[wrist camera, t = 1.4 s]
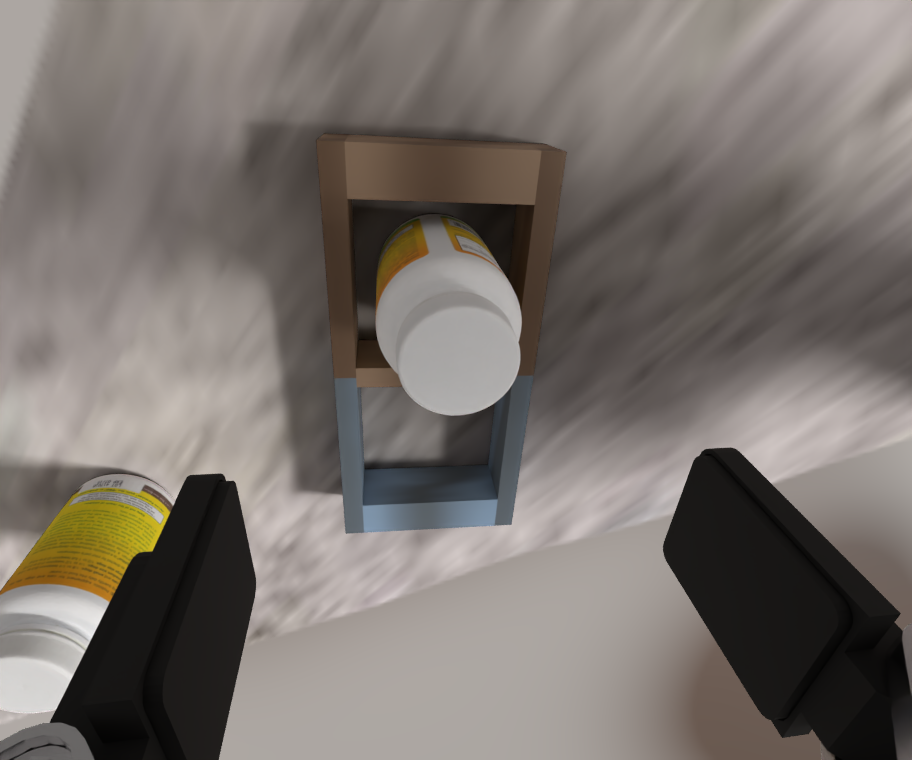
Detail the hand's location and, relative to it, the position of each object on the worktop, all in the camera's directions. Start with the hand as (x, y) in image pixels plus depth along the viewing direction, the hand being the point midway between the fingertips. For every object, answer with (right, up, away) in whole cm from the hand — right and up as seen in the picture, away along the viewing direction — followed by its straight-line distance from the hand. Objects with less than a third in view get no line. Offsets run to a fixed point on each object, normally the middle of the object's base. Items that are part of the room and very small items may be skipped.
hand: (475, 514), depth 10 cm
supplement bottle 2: (-1, +8, +14) cm, 16 cm away
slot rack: (-2, +4, +16) cm, 17 cm away
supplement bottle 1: (-19, -4, +19) cm, 27 cm away
